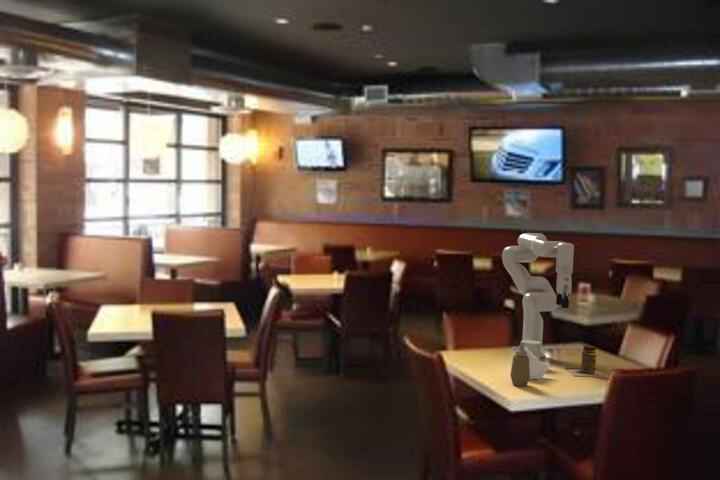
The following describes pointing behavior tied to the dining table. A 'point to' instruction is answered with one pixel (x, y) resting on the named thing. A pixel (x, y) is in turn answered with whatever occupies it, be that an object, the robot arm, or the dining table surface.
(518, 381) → the squeeze bottle
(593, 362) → the condiment
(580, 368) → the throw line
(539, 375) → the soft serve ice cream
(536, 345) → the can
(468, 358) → the dining table surface
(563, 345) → the dining table surface
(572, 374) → the mat
